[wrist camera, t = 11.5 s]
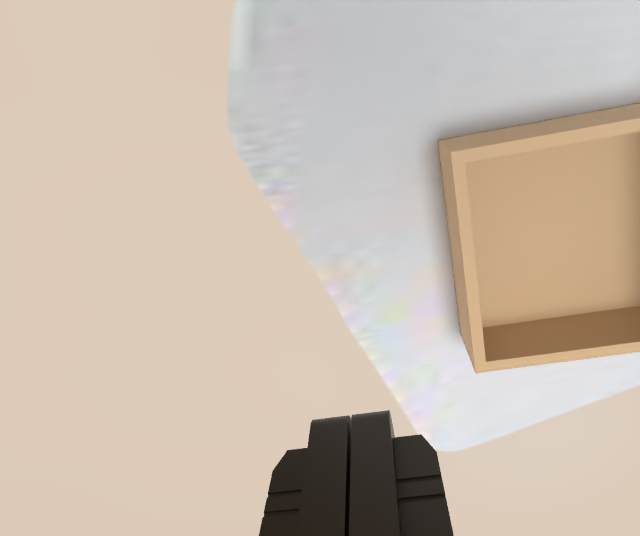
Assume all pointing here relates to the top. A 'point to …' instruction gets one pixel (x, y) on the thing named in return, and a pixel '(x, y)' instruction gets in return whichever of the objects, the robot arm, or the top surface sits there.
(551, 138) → the tray
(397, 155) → the top surface
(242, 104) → the top surface
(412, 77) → the top surface
